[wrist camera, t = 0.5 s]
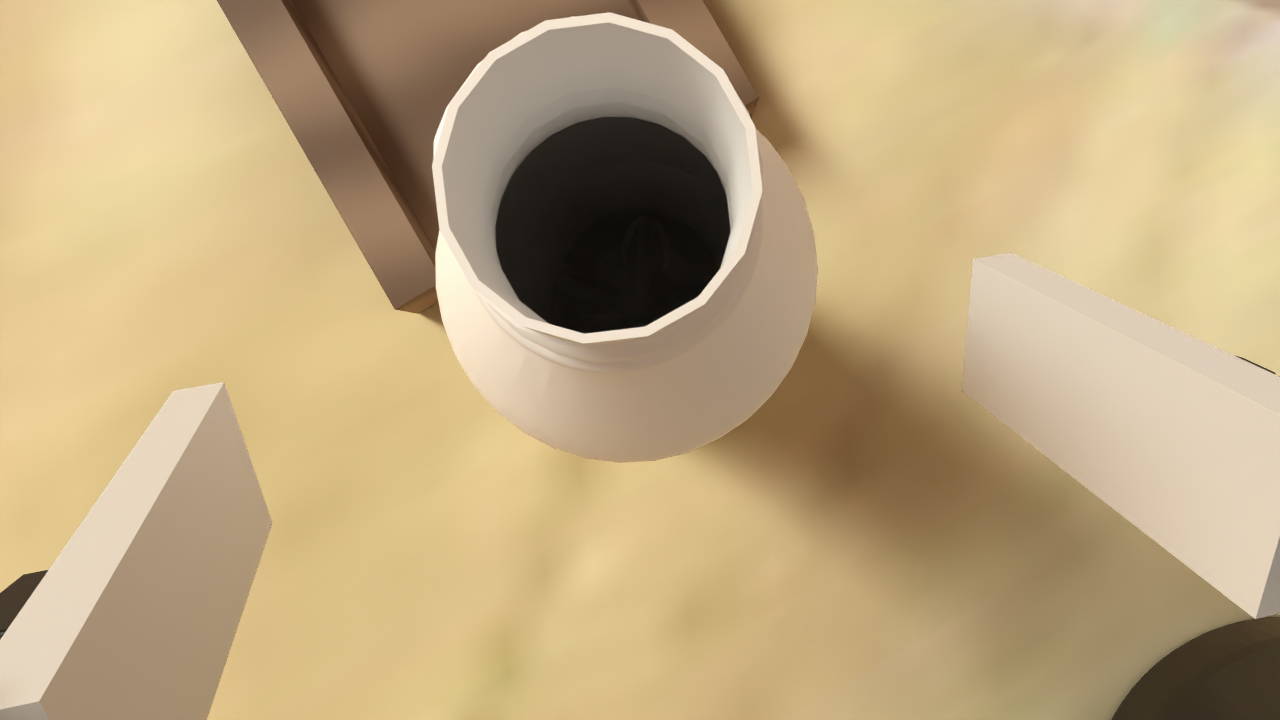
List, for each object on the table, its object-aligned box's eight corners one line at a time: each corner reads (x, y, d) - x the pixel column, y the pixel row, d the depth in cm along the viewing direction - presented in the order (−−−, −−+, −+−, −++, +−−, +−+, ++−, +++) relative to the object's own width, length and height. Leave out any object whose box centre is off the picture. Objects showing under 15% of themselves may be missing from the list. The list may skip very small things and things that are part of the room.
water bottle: (739, 233, 32) (1035, -201, 7) (724, 415, 32) (970, 615, 7) (557, 219, 32) (226, -255, 7) (542, 401, 32) (165, 548, 7)
